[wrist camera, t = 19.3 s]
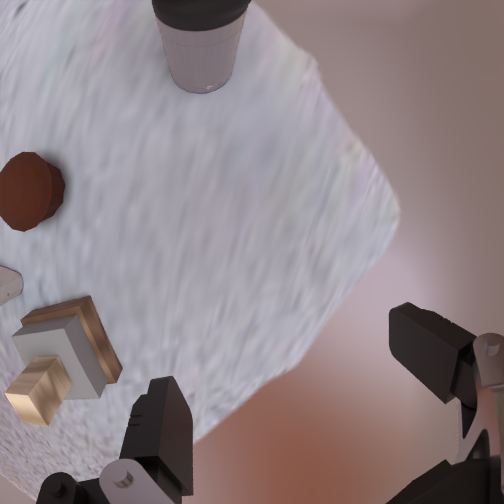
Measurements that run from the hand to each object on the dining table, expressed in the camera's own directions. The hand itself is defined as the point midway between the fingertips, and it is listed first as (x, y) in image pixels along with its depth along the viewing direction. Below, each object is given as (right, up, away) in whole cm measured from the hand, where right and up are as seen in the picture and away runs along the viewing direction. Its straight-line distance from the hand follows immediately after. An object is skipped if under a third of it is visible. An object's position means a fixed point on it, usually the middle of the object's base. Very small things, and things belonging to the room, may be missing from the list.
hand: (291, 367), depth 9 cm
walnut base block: (-32, -11, +31) cm, 46 cm away
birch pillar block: (-30, -13, +21) cm, 39 cm away
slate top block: (-31, -12, +26) cm, 43 cm away
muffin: (-34, +14, +25) cm, 45 cm away
